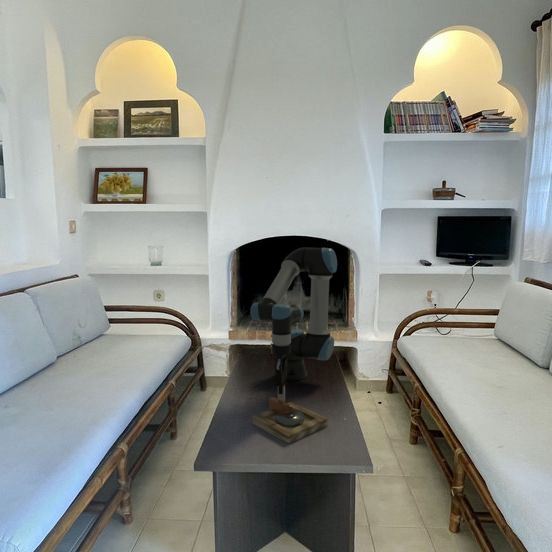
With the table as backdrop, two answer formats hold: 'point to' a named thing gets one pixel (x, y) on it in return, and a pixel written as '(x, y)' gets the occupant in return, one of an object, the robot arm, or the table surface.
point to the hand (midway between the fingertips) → (281, 400)
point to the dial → (285, 413)
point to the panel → (290, 433)
